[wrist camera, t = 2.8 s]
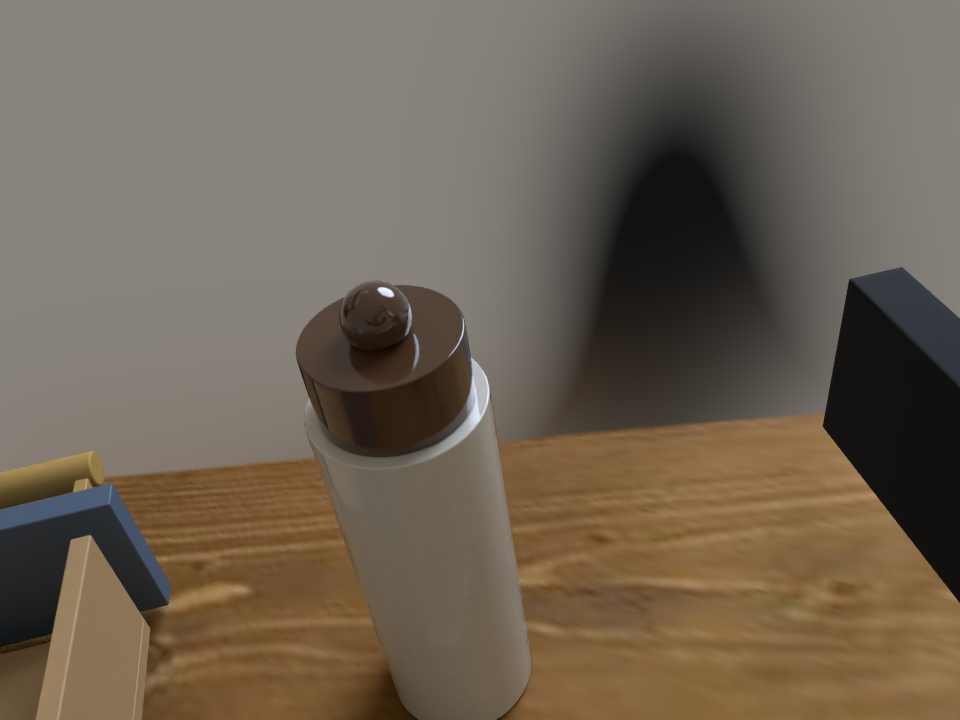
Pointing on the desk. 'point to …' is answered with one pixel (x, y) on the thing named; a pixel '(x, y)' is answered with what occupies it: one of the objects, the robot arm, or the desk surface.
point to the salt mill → (419, 495)
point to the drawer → (73, 595)
